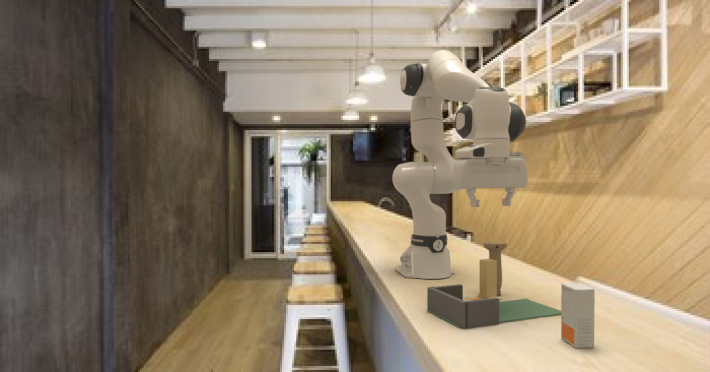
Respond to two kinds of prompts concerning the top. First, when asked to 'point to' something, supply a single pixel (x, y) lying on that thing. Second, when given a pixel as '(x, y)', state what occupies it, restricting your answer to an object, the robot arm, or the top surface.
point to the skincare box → (577, 315)
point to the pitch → (517, 311)
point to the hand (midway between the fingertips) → (490, 206)
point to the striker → (488, 279)
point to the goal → (462, 307)
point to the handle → (495, 254)
